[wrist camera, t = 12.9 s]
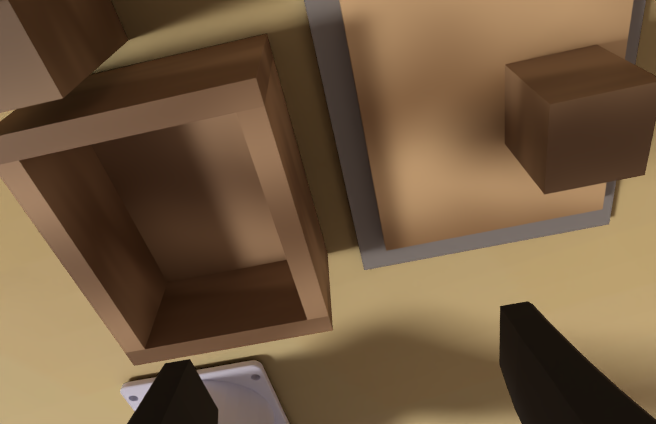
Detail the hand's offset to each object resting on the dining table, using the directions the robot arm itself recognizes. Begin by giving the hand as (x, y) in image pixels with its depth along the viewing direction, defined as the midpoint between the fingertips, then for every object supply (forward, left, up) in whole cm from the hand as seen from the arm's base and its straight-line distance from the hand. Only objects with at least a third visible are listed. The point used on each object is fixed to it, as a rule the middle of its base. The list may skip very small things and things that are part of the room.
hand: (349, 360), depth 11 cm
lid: (+1, -6, -9) cm, 11 cm away
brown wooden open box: (+2, +5, -10) cm, 11 cm away
